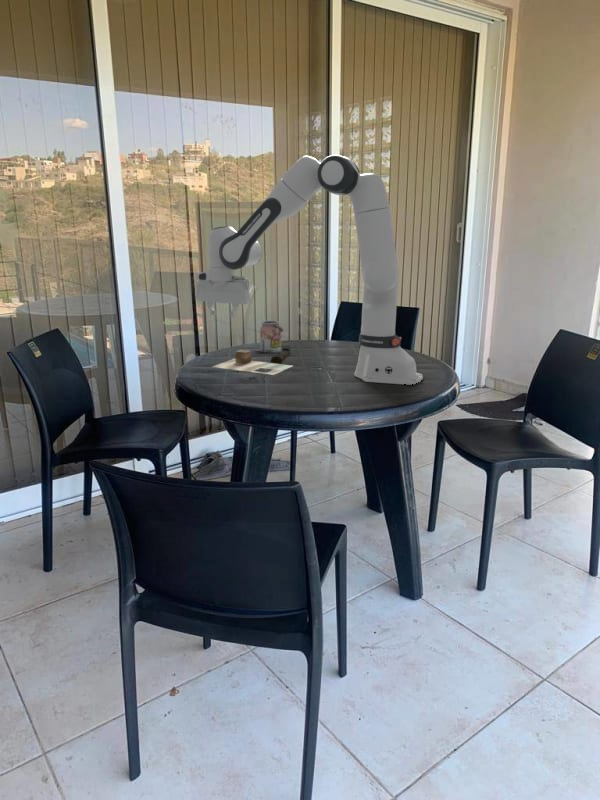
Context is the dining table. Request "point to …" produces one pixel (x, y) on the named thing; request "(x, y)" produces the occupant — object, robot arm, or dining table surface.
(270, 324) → the beverage can
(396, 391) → the dining table surface
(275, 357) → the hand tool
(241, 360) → the walnut cube
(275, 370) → the birch board
